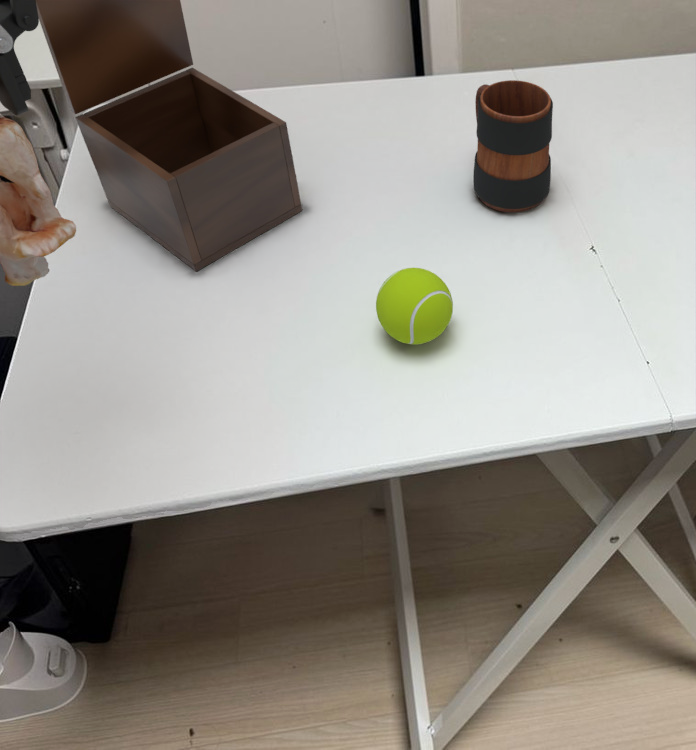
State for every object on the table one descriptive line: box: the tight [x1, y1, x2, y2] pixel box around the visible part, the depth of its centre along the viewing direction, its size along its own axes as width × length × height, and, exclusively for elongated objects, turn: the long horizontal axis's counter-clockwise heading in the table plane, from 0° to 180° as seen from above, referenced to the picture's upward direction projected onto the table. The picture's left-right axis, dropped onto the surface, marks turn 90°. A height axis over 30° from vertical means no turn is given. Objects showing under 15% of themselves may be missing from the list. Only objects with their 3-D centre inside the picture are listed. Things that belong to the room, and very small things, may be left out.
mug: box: [472, 79, 554, 214], centre depth 91 cm, size 9×12×12 cm
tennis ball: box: [375, 267, 454, 345], centre depth 76 cm, size 7×7×7 cm
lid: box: [36, 0, 194, 115], centre depth 80 cm, size 17×14×5 cm
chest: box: [75, 67, 303, 272], centre depth 87 cm, size 16×14×11 cm
